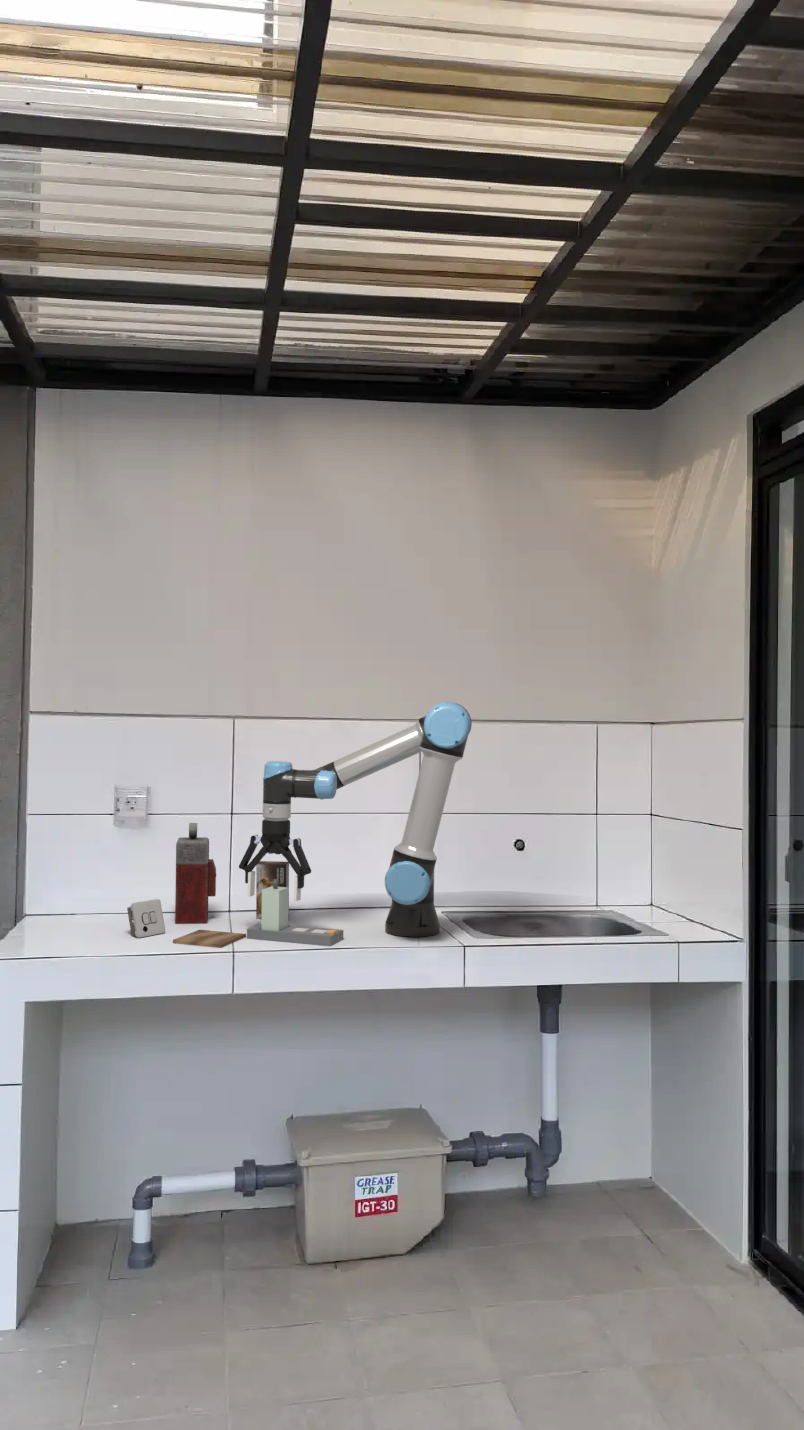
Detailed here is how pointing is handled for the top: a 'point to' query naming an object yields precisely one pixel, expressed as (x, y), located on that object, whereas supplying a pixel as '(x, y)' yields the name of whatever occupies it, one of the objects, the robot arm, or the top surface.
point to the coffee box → (270, 880)
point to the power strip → (298, 935)
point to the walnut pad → (209, 938)
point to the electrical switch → (146, 918)
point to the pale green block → (274, 907)
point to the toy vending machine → (193, 878)
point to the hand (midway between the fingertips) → (273, 898)
